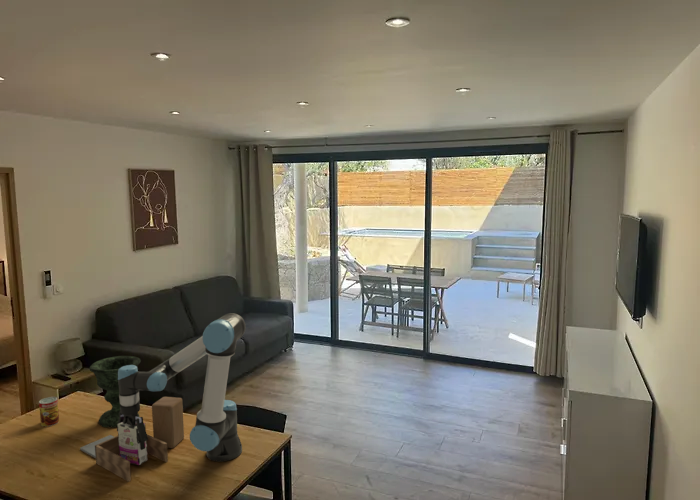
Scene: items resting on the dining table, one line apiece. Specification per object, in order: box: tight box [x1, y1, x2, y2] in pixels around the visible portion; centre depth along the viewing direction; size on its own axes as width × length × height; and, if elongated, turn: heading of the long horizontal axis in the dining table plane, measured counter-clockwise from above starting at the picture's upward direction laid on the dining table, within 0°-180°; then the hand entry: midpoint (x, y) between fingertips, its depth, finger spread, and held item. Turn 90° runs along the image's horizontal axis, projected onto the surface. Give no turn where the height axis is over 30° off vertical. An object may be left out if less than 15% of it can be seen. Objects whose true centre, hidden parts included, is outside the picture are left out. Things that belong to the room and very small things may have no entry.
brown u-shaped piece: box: [95, 433, 169, 482], centre depth 206 cm, size 24×18×8 cm
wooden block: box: [151, 396, 185, 449], centre depth 221 cm, size 10×10×20 cm
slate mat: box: [79, 434, 115, 459], centre depth 218 cm, size 14×14×1 cm
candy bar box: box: [117, 422, 149, 466], centre depth 205 cm, size 11×5×16 cm, turn 68°
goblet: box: [89, 355, 142, 428], centre depth 244 cm, size 22×22×30 cm
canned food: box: [38, 396, 60, 428], centre depth 242 cm, size 8×8×12 cm
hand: (133, 452), depth 205 cm, fingers closed on candy bar box, 12 cm apart
